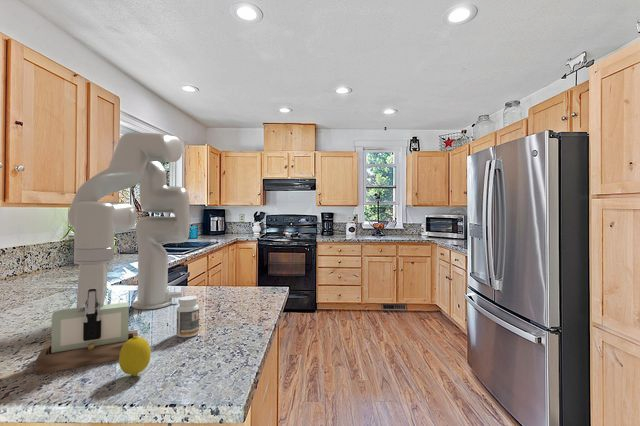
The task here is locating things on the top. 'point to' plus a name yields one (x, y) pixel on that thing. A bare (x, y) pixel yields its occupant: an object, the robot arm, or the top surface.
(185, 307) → the pill bottle
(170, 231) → the robot arm
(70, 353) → the wooden tray
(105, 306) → the frame
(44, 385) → the top surface
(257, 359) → the top surface
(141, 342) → the lemon
